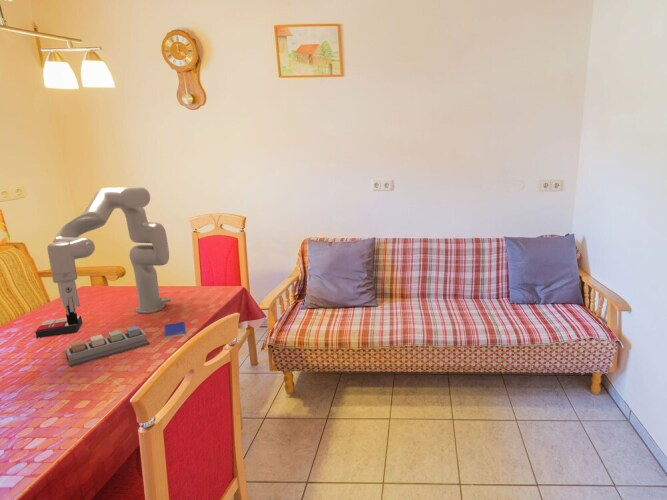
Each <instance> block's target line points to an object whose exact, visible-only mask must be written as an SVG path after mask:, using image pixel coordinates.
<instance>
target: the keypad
mask: <svg viewBox="0 0 667 500" xmlns="http://www.w3.org/2000/svg"><path fill="white" fill-rule="evenodd" d="M139 329H140V334H139V335H136V336H132V337H129V336H128V334H127V331H126V332H124V333H123V332H122V337H123V339H121V340H117V341H114V342H111V340H110V338H109V336H107V337H105V338H104V337H103V338H104V343H105V344H102V345H99V346H95V347H93V346H92V344H91V341H88V342H84V344H85V349H84V350H80V351H77V352H73V351H72V348H71V346H69V347H66V348H65V350H64V352H65V355H66V359H67V360H68V362H69V365H70V366H69V367H74V366H77V365H82V364H85V363H88V362H92V361H96V360H99V359H102V358H105V357H106V358H107V357H109V356H113V355H117V354H119V353H122V352H127V351H130V350H134V349H137V348H140V347H144V346H148V345H150V341H149V340H148V339H147V334H146V333H145V332H144V330H143V329H142V328H139ZM116 353H117V354H116ZM112 354H113V355H112Z"/></svg>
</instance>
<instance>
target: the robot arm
mask: <svg viewBox="0 0 667 500" xmlns="http://www.w3.org/2000/svg"><path fill="white" fill-rule="evenodd" d="M150 202H151V194H150V192H149V190H147V189H146V188H145V187H133V186H131V187H128V186H127V187H125V186H122V187H121V186H120V187H101V188H100V189H98V191H96V193H95V194H94V196H93V197H92V199H91V201H90V202H89V204H88V206H86V209H85V210H84V211H83V212H82V213H81V214H79V215H78V216H76V217H75V218H73V219H72V220H70V221H68V222H67V223H65V224H64V225H63V226H62V227H61V228H60V230H59V231H58V232H57V234H56V235H55V237H54V239H53V241H52V243H49V244H47V255H48V259H49V260H48V261H49V266H50V271H51V277H52V282H53V283H54V284H57V289H58V293H59V298H60V301H61V304H62V307H63V309H65V312H66V314H65V318H66V317H67V323H68V325H73V324H78V318H77V316H78V313H77V311H76V307H78V308H79V307H80V306H81V303H80V298H79V295H78V294H79V293H78V289H77V284H76V280H78V272H77V268H76V260H79V259H85V258H88V257H90V256H91V255H92V254H93V253H94V252H95V250H96V249H95V248H96V246H95V243H94V241H93V240H91V239H90V238H88V237H80V236H81V235H83V234H86V233H88V232H91V231H93V230H97V229H100V228H103V226H105V225H106V223H107V222H108V220H109V218H110V216H111V215H112V214H113V211H115V209H120V210H121V211H122V212H123V214H124V216H125V219H126V225H127V226H126V227H127V230H128V235H129V239H130V240H131V241H132V242H133V243H138V244H137V245H134V246H133V247H131V249H130V251H129V255H128V256H129V259H130V262H131V265H132V268H133V272H134V273H133V274H134V280H135V286H136V294H137V300H138V306H136V307H135V311H136V312H137V314H141V315H142V314H153V313H158V312H159V311H162V310H163V309H164V308H165V304H166V303H169V302H172V301H171V300H172V299H171V297H167V296H166V297H162V298H161V297H160V289H159V280H158V273H157V270H156V268H155V267H157V266H159V267H160V266H161V267H162V266H165V265H167V264H168V262H169V260H170V250H169V249H170V248H169V244H168V243H169V242H168V237H167V233H166V229H165V226H164V225H162V224H161V223H160V222H155V221H153V222H151V221H150V222H149V221H148V218H147V213H146V210H145V209H144V208H145V207H146V206H148V205H149V203H150ZM154 266H155V267H154Z"/></svg>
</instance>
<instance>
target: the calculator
mask: <svg viewBox="0 0 667 500" xmlns="http://www.w3.org/2000/svg"><path fill="white" fill-rule="evenodd" d="M77 318H78V324H73V325H68V323H67V317H66V316H65V317H62V318H61V317H60V318H56V319H50V320H44V321H43V322H42V323H40V325H39V327H38V328H37V329H36V331H35V332H34V333H35V336H36V338H37V339H39V338H38V337H40V338H45V337H46V338H47V337H52V336H53V337H54V336H59V335H65V334H66V335H67V334H69V335H70V334H76V333H78V332H79V330H80V329H81V327H82V325H83V324H84V323H83V320H82V316H81V315H77Z"/></svg>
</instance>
